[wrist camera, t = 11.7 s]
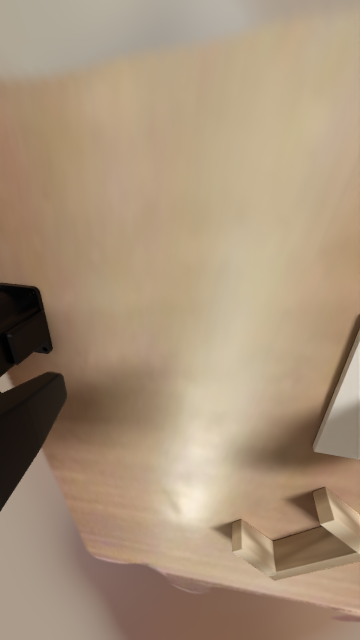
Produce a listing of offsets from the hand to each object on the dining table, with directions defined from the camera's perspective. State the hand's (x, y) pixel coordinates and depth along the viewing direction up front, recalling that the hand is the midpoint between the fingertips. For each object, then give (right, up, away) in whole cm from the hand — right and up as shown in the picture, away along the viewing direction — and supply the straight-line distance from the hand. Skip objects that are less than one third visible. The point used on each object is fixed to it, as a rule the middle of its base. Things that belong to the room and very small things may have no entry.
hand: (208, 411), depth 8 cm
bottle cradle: (+12, -21, +23) cm, 33 cm away
